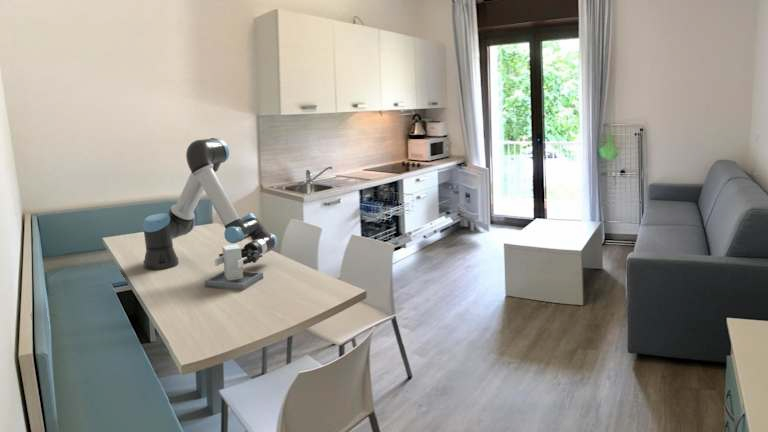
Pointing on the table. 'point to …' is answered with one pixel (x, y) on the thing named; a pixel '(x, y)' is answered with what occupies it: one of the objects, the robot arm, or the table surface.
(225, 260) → the small box
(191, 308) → the table surface
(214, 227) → the table surface
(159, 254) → the robot arm
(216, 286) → the tray
